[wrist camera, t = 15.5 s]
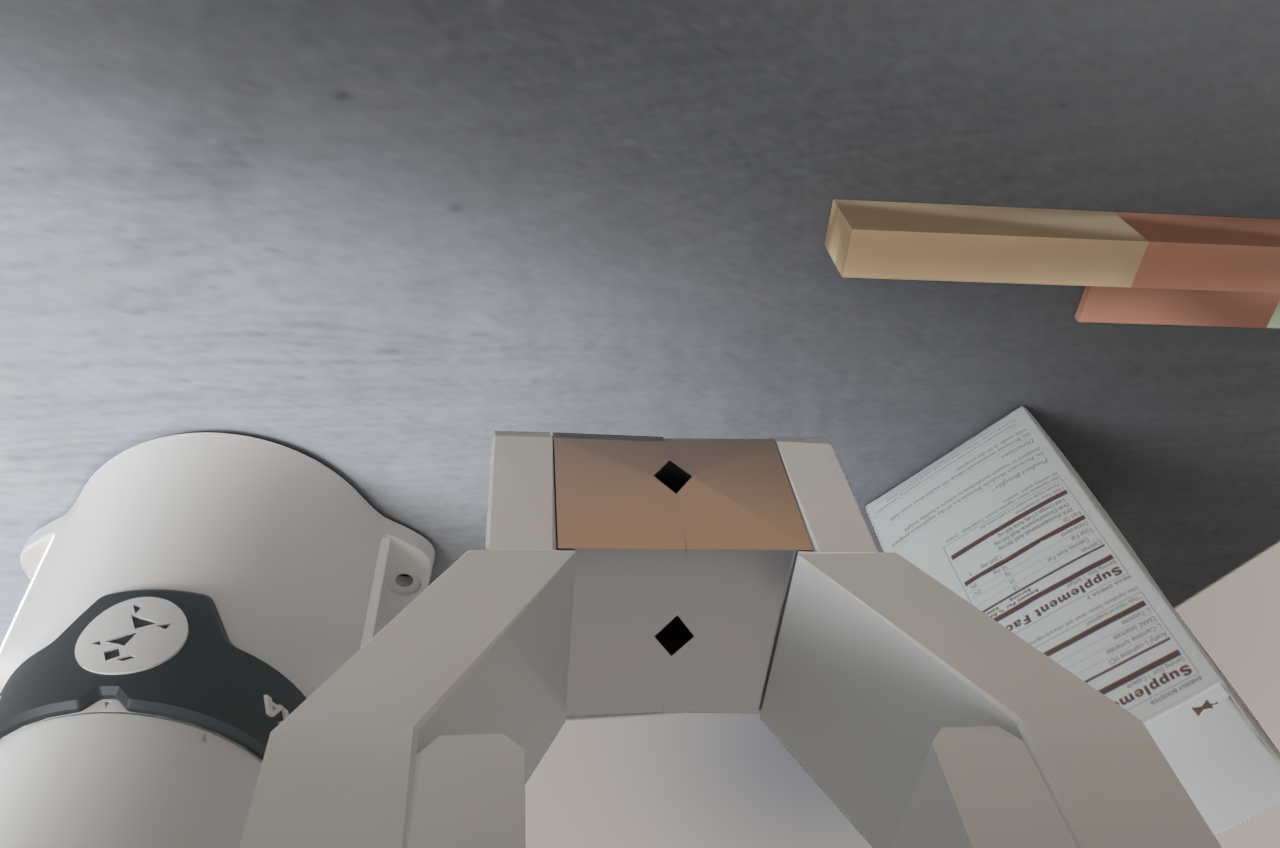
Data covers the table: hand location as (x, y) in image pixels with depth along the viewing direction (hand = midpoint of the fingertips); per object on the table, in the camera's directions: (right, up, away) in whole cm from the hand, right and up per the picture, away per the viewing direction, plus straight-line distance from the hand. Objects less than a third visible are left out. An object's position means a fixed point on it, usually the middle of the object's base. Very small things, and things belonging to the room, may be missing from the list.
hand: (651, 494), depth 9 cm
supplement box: (+17, -4, +41) cm, 45 cm away
